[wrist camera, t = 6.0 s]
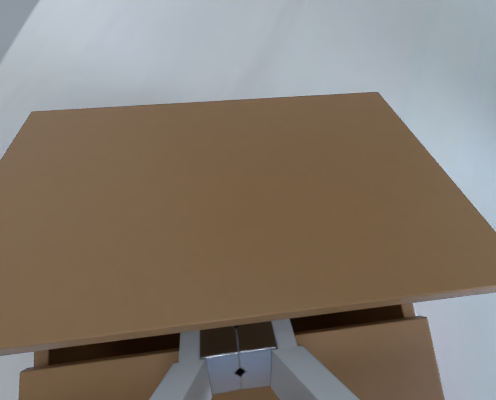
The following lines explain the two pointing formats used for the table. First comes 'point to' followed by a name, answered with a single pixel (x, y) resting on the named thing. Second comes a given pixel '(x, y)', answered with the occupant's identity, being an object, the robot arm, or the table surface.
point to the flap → (224, 219)
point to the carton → (307, 334)
